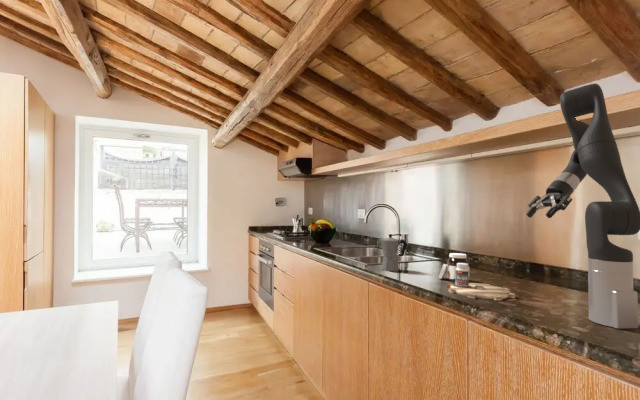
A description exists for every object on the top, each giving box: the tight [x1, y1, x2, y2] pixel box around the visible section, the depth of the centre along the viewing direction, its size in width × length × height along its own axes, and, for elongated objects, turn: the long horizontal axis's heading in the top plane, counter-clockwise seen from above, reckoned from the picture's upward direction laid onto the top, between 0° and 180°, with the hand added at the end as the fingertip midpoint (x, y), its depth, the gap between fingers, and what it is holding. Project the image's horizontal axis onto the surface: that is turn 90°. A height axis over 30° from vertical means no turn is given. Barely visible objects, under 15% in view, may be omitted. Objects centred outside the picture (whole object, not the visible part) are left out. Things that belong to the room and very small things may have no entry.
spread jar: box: [438, 252, 470, 283], centre depth 141 cm, size 12×11×12 cm
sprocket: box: [446, 282, 516, 301], centre depth 121 cm, size 23×23×2 cm
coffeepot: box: [378, 233, 408, 272], centre depth 165 cm, size 15×9×18 cm, turn 51°
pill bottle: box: [454, 263, 470, 287], centre depth 126 cm, size 5×5×8 cm
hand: (537, 216), depth 122 cm, fingers open, 8 cm apart
